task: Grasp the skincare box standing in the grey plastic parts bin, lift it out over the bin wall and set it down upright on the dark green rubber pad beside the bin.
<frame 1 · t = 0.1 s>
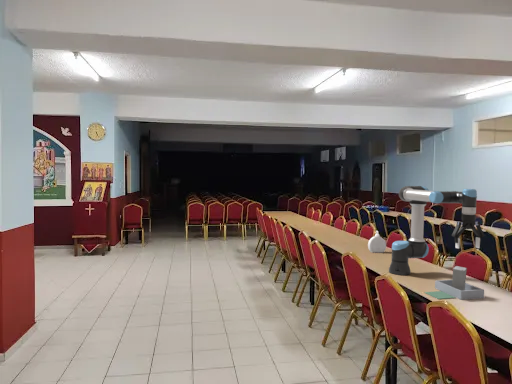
hand: (467, 248, 225), 28 cm above the table, fingers open, 13 cm apart
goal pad: (439, 295, 220), on the table
parts bin: (458, 292, 225), on the table
soap bottle: (376, 252, 345), on the table
skincare box: (458, 293, 225), resting in parts bin
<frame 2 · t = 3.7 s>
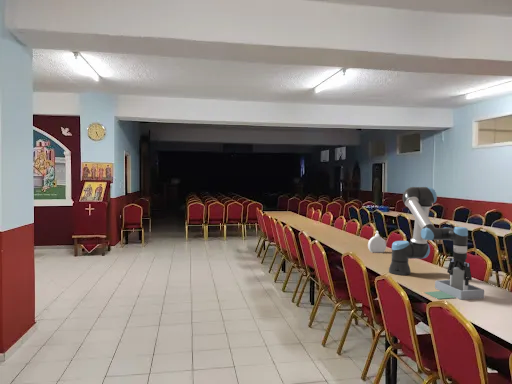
hand: (458, 287, 225), 3 cm above the table, fingers closed on skincare box, 10 cm apart
skincare box: (458, 293, 225), resting in parts bin, touching gripper
everything else where it was.
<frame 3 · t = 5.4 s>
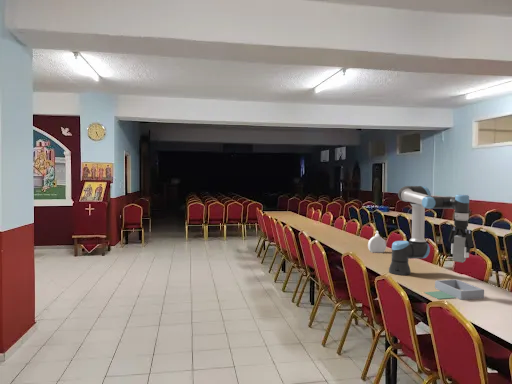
hand: (459, 255, 225), 23 cm above the table, fingers closed on skincare box, 10 cm apart
skincare box: (459, 261, 225), point 20 cm above the table, touching gripper
everything else where it was.
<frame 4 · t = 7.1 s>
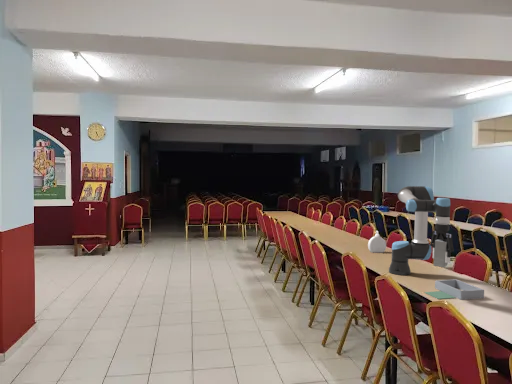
hand: (441, 260, 219), 21 cm above the table, fingers closed on skincare box, 10 cm apart
skincare box: (441, 266, 219), point 18 cm above the table, touching gripper
everything else where it was.
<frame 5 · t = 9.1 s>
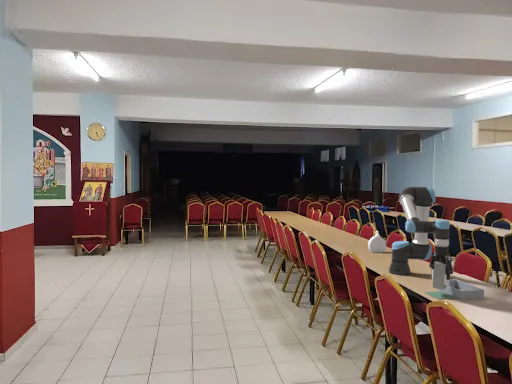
hand: (440, 282, 220), 8 cm above the table, fingers closed on skincare box, 10 cm apart
skincare box: (440, 287, 220), point 5 cm above the table, touching gripper
everything else where it was.
when the fingers open (5 cm above the table, at t = 10.8 s): skincare box drops 1 cm, resting on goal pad.
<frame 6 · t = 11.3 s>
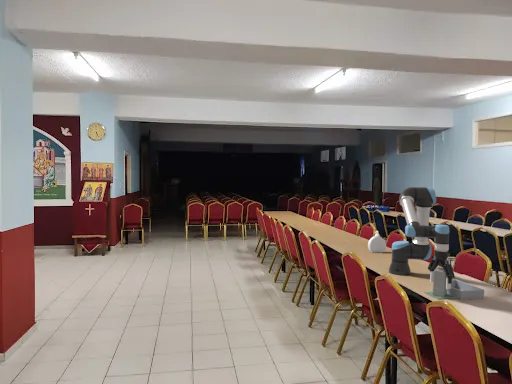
hand: (440, 285, 220), 6 cm above the table, fingers open, 13 cm apart
skincare box: (440, 295, 220), resting on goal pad
everything else where it was.
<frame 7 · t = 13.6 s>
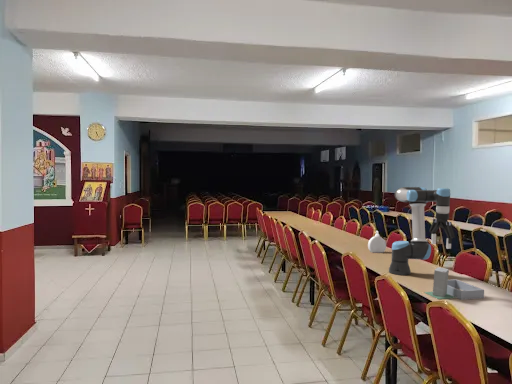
hand: (440, 246, 229), 28 cm above the table, fingers open, 13 cm apart
nothing on the table moved.
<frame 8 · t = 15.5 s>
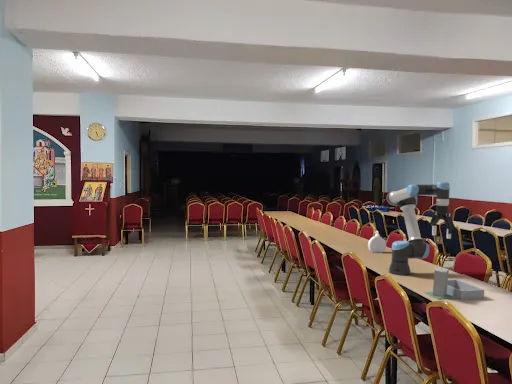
hand: (441, 236, 243), 32 cm above the table, fingers open, 13 cm apart
nothing on the table moved.
at the end: skincare box inside the target area on the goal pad (0.3 cm from its centre), point 0.2 cm above the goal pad's base; skincare box tilted 0°; the gripper is holding nothing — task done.
